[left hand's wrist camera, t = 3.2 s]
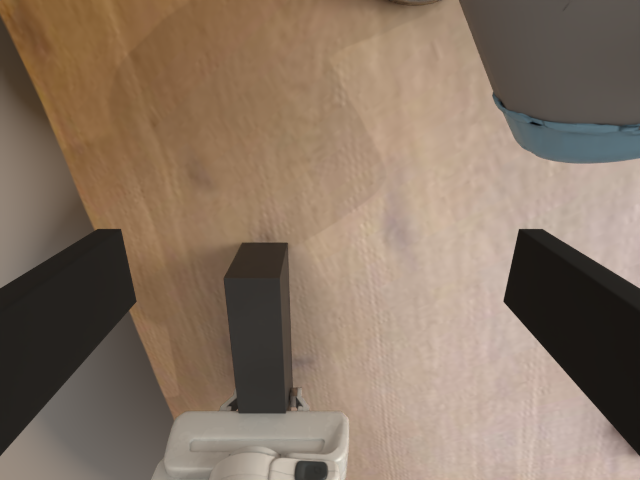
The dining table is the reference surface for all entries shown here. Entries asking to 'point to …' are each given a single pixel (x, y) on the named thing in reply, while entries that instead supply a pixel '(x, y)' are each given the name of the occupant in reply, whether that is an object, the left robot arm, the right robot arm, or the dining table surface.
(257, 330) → the bar
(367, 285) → the dining table surface
